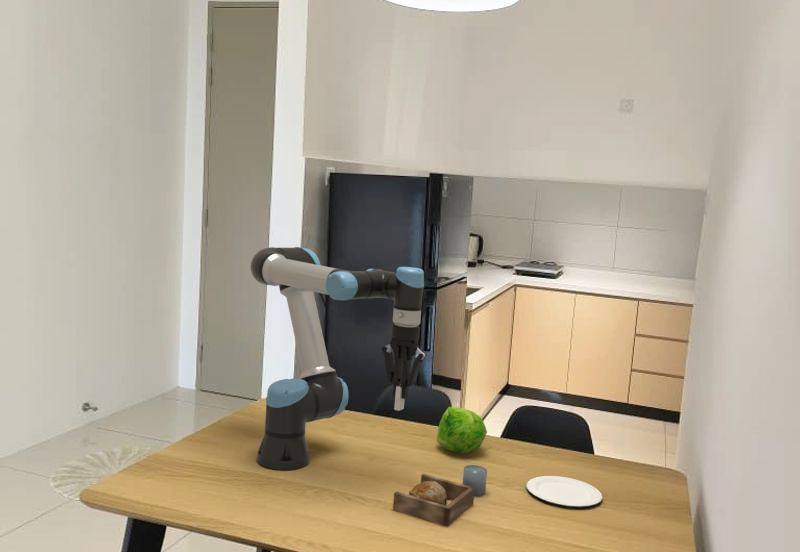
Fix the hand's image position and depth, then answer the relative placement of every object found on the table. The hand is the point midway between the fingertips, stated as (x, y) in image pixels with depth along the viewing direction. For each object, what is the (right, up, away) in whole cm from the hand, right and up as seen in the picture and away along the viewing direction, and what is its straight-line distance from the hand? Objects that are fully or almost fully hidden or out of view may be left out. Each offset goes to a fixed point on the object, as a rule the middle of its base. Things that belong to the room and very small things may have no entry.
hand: (399, 409), depth 196 cm
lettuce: (+19, -20, +34) cm, 44 cm away
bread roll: (+7, -23, -10) cm, 27 cm away
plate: (+46, -25, +4) cm, 53 cm away
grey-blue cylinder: (+21, -23, +1) cm, 31 cm away
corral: (+8, -23, -11) cm, 27 cm away
